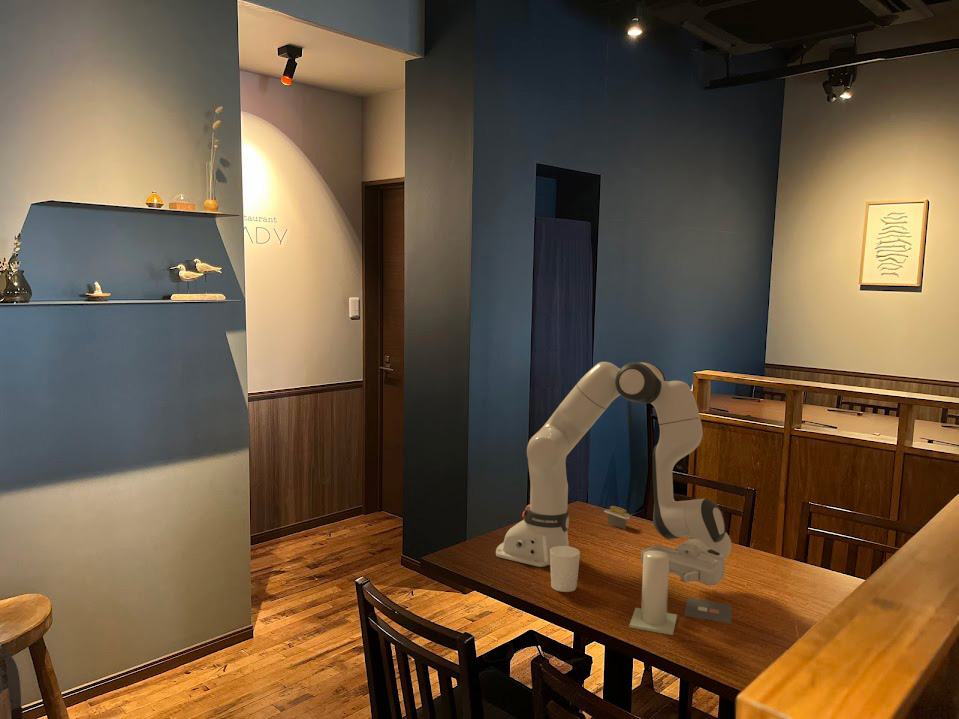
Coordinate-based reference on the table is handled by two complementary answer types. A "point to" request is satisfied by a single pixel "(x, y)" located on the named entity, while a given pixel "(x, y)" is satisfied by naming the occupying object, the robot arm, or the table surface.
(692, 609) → the mat
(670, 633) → the coaster pad
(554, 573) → the white cup
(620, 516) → the platform
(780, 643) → the table surface
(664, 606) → the ceramic canister
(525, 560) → the robot arm
